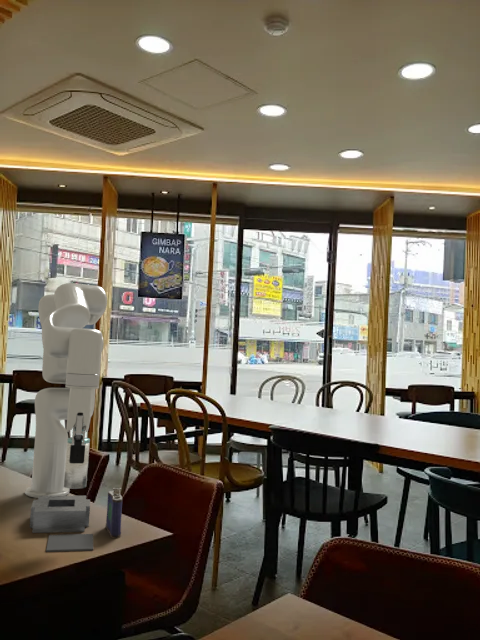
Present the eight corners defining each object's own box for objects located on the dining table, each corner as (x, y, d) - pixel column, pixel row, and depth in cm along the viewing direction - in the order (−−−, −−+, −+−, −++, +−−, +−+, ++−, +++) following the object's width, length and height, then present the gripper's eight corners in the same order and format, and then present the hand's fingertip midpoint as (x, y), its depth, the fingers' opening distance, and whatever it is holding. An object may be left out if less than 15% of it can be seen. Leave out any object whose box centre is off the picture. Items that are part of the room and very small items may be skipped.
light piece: (64, 483, 130) (67, 436, 131) (86, 483, 131) (89, 437, 132) (63, 488, 125) (67, 440, 126) (86, 488, 127) (90, 440, 127)
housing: (33, 515, 146) (35, 496, 147) (88, 514, 150) (89, 495, 150) (27, 532, 133) (29, 511, 133) (88, 531, 137) (90, 510, 137)
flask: (104, 526, 141) (107, 483, 142) (116, 525, 142) (119, 483, 143) (110, 538, 133) (114, 492, 133) (123, 537, 134) (126, 492, 134)
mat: (49, 536, 131) (49, 534, 131) (92, 535, 134) (93, 533, 134) (46, 551, 122) (46, 550, 122) (93, 550, 124) (93, 548, 124)
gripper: (67, 378, 137) (61, 453, 136) (64, 383, 121) (57, 468, 120) (98, 380, 139) (93, 453, 138) (100, 384, 123) (94, 468, 122)
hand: (76, 459), depth 129 cm, fingers closed on light piece, 5 cm apart
